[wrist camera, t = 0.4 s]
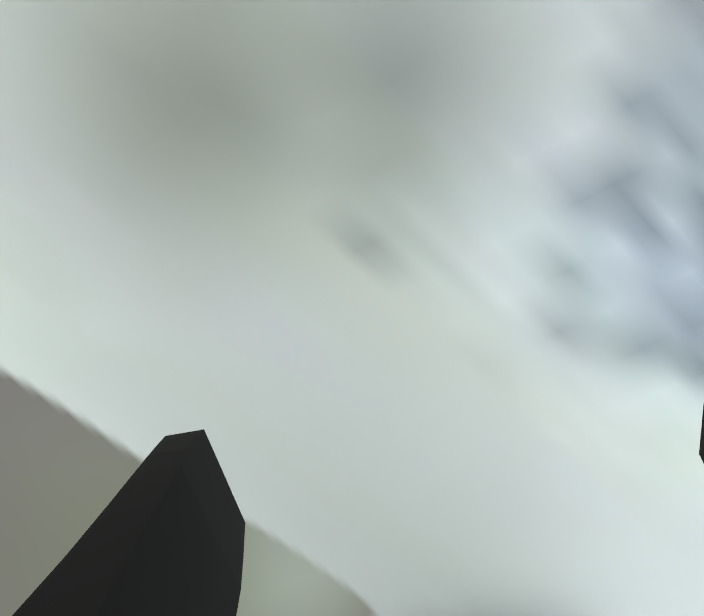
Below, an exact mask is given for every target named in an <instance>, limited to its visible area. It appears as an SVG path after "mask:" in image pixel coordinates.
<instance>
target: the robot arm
mask: <svg viewBox="0 0 704 616" xmlns="http://www.w3.org/2000/svg"><path fill="white" fill-rule="evenodd" d="M699 455H700V457H701V459H702V461H703V463H704V406H703V417H702V428H701V439H700V450H699ZM244 532H245V521H244V519H243V517H242V515H241V512H240V510H239V508H238V505H237V503H236V501H235V499H234V496H233V494H232V492H231V490H230V487H229V485H228V483H227V480H226V478H225V476H224V474H223V471H222V469H221V467H220V465H219V462H218V460H217V458H216V456H215V453H214V451H213V449H212V446H211V444H210V442H209V440H208V437H207V435H206V433H205V431H204V430H199V431H193V432H187V433H181V434H175V435H169V436H165V437H164V438H163V439H162V440H161V442H160V443H159V444H158V445H157V446H156V447H155V448H154V450H153V451H152V452H151V453H150V454H149V455H148V457H147V458H146V459H145V460H144V462H143V463H142V464H141V465H140V467H139V468H138V469H137V470H136V471H135V473H134V474H133V475H132V476H131V477H130V479H129V480H128V481H127V482H126V484H125V485H124V486H123V487H122V489H121V490H120V491H119V492H118V493H117V495H116V496H115V497H114V498H113V500H112V501H111V502H110V504H109V505H108V506H107V507H106V508H105V509H104V511H103V512H102V513H101V514H100V516H99V517H98V518H97V519H96V520H95V521H94V523H93V524H92V525H91V526H90V528H89V529H88V530H87V531H86V532H85V533H84V535H83V536H82V537H81V538H80V539H79V541H78V542H77V543H76V544H75V545H74V547H73V548H72V549H71V550H70V551H69V553H68V554H67V555H66V556H65V557H64V559H63V560H62V561H61V562H60V563H59V564H58V565H57V566H56V567H55V569H54V570H53V571H52V572H51V573H50V574H49V575H48V576H47V577H46V579H45V580H44V581H43V582H42V583H41V584H40V585H39V587H37V589H36V590H35V591H34V592H33V593H32V594H31V595H30V597H29V598H28V599H27V600H26V601H25V602H24V603H23V604H22V605H21V607H20V608H19V609H18V610H17V611H16V612H15V613H14V614H13V615H12V616H236V613H237V608H238V602H239V596H240V591H241V580H242V567H243V552H244V534H245V533H244Z"/></svg>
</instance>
